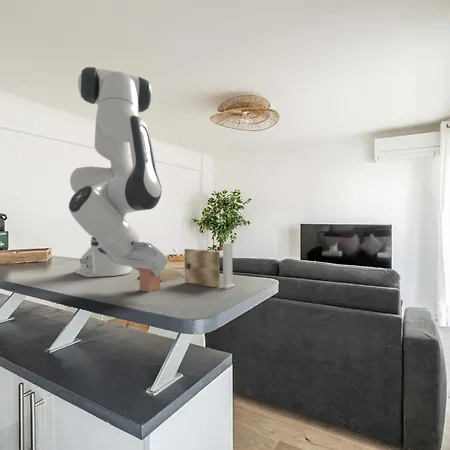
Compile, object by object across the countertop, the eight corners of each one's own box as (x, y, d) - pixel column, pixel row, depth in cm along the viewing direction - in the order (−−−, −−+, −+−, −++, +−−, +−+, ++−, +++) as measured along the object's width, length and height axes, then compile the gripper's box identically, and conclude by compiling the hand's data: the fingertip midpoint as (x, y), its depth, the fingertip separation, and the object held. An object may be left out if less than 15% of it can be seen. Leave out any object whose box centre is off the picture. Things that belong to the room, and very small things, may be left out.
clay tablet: (186, 279, 107) (186, 271, 107) (164, 284, 99) (164, 276, 98) (157, 275, 115) (157, 267, 115) (135, 279, 107) (135, 272, 107)
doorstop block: (139, 290, 89) (139, 260, 88) (150, 287, 92) (150, 258, 92) (149, 292, 86) (148, 261, 86) (160, 289, 89) (159, 259, 89)
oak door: (182, 282, 97) (182, 249, 97) (187, 281, 99) (186, 248, 99) (215, 288, 89) (214, 251, 89) (219, 286, 91) (219, 251, 91)
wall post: (220, 288, 90) (220, 243, 90) (228, 285, 94) (228, 242, 93) (227, 289, 89) (226, 243, 89) (235, 286, 92) (234, 242, 92)
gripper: (154, 233, 77) (183, 267, 85) (106, 231, 89) (135, 261, 97) (140, 253, 73) (171, 287, 82) (92, 248, 86) (123, 278, 94)
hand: (151, 273), depth 89 cm, fingers closed on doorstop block, 4 cm apart
